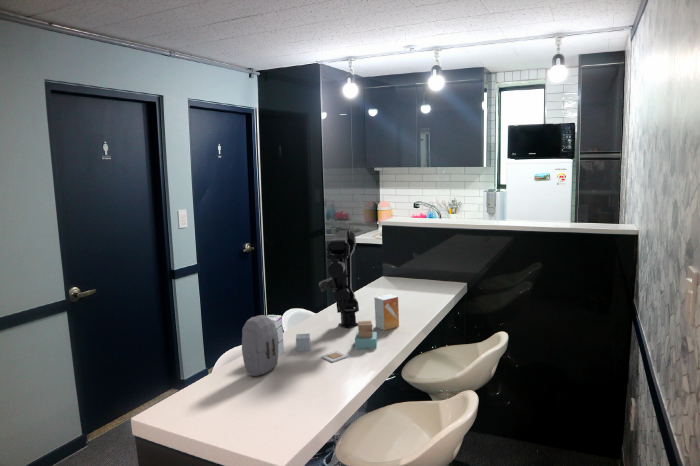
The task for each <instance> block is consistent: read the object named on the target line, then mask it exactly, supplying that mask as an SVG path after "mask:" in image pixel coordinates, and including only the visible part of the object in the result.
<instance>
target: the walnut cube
mask: <svg viewBox="0 0 700 466" xmlns="http://www.w3.org/2000/svg"><path fill="white" fill-rule="evenodd" d="M357 323H358V325H357V327H358V330H357V331H358V333H359V338H372V337H373V334H372V332H373V322H372V320H361V321H360V320H359V321H357Z"/></svg>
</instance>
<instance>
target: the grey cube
mask: <svg viewBox="0 0 700 466" xmlns="http://www.w3.org/2000/svg"><path fill="white" fill-rule="evenodd" d="M295 346H296V352H304V351H311V337H310V333H297V334H296V336H295Z"/></svg>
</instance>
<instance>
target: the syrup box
mask: <svg viewBox="0 0 700 466" xmlns="http://www.w3.org/2000/svg"><path fill="white" fill-rule="evenodd" d="M266 316H267V317H268V318H270V319H271V320H272V321H273V322H274V324H275V327H276V330H277V334H278V340H279V342H278V358H279V357H280V356H282V354H283V353H285V344H284V331H283V319H282V315H278V314H277V315H276V314H267V315H266Z"/></svg>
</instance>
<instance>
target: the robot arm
mask: <svg viewBox="0 0 700 466" xmlns="http://www.w3.org/2000/svg"><path fill="white" fill-rule="evenodd" d="M336 231H337V233H336V234H335V237H334V238H332V239H330V240H329V242H328V244H327V260H331V263H330V264H329V266H328V268H327V269H328V274H329V276H331V277H328V278H326V279H324V280H321V281H319V282H318V286H319V289H320V292H321V293H324V292H326V291H327V290H329V289H333V291H332V294H333V295H332V296H333V300H334V301H336V304H335V305H336V311H337V313H338V314H340V323H338V324H337V325H338V326H340V327H343V328H347V329H349V328H352V327H354V326H358V322H357V320H356V319H357V317H356V313H357V312H359V311H360V308H359V307H360V306H359V301H358V299H357V298H356V295H355V293H354V291H353V288H352V255H353V254H354V253H355V249H356V248H355V247H356V246H357V238H356V235H355V233H354V232H352V231H350V228H346V227H345V228H339V229H337V230H336Z"/></svg>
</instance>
